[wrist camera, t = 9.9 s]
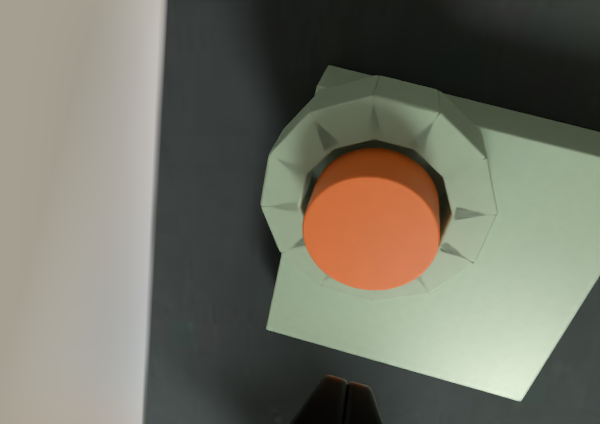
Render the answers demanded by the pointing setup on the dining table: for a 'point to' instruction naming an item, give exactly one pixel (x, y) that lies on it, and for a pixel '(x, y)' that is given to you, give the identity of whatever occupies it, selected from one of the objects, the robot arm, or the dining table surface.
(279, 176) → the housing
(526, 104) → the dining table surface
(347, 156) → the button
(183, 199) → the dining table surface
